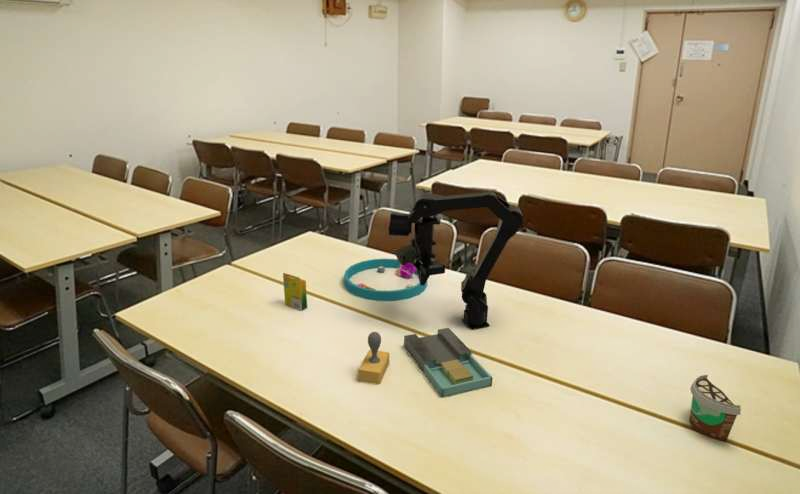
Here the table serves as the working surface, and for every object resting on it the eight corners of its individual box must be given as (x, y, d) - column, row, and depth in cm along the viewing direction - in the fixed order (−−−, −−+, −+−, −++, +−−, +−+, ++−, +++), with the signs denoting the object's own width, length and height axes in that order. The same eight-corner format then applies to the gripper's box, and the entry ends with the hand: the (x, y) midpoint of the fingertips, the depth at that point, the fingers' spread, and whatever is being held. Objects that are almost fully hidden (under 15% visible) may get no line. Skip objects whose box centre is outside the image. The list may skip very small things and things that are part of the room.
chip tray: (470, 363, 143) (471, 355, 142) (491, 385, 134) (492, 377, 133) (423, 373, 138) (424, 365, 137) (442, 397, 129) (442, 389, 128)
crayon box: (307, 307, 172) (306, 275, 168) (301, 311, 169) (299, 278, 165) (291, 302, 175) (288, 269, 171) (284, 305, 173) (282, 272, 169)
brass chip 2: (465, 373, 137) (465, 367, 137) (472, 382, 134) (473, 375, 133) (448, 377, 136) (448, 371, 135) (455, 386, 132) (455, 379, 131)
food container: (672, 409, 126) (680, 374, 122) (696, 408, 126) (706, 373, 123) (704, 446, 114) (714, 408, 111) (731, 444, 115) (742, 406, 111)
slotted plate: (447, 338, 155) (448, 327, 154) (470, 363, 143) (471, 351, 142) (403, 346, 150) (404, 335, 149) (423, 373, 138) (424, 361, 137)
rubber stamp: (380, 385, 133) (380, 343, 129) (358, 381, 134) (357, 340, 130) (389, 363, 142) (390, 324, 138) (369, 360, 144) (368, 321, 139)
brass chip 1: (457, 365, 141) (457, 359, 140) (464, 374, 137) (464, 367, 137) (440, 369, 139) (440, 363, 138) (447, 377, 136) (447, 371, 135)
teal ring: (444, 284, 192) (444, 269, 190) (385, 311, 171) (385, 294, 169) (386, 261, 211) (386, 248, 209) (327, 283, 191) (326, 268, 189)
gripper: (387, 230, 161) (387, 276, 167) (410, 250, 145) (409, 301, 150) (420, 226, 165) (419, 272, 170) (447, 246, 149) (444, 296, 154)
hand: (422, 284), depth 161 cm, fingers closed
